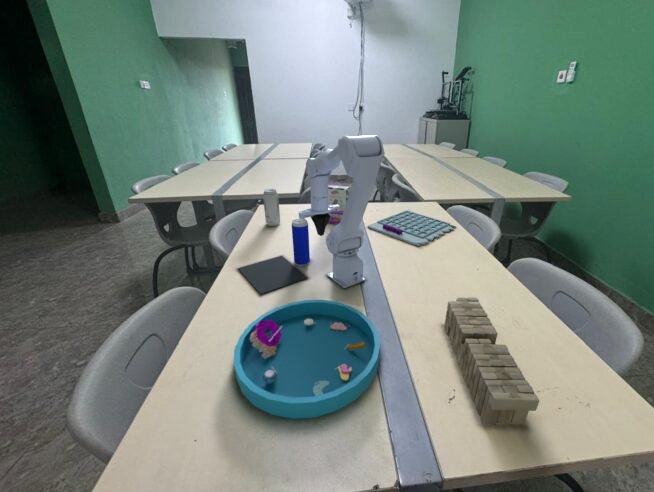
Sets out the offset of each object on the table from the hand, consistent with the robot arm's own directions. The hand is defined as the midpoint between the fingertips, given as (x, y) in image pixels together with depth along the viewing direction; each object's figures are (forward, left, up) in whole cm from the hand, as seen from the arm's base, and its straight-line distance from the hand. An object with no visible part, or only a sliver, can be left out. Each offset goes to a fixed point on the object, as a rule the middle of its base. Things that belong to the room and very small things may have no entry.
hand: (320, 234), depth 107 cm
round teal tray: (-38, +26, -9) cm, 47 cm away
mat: (-1, +18, -8) cm, 20 cm away
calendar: (0, -47, -9) cm, 47 cm away
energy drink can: (+38, 0, -9) cm, 39 cm away
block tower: (-62, 0, -9) cm, 63 cm away
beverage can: (0, +7, -9) cm, 11 cm away
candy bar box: (+24, -24, -9) cm, 35 cm away
